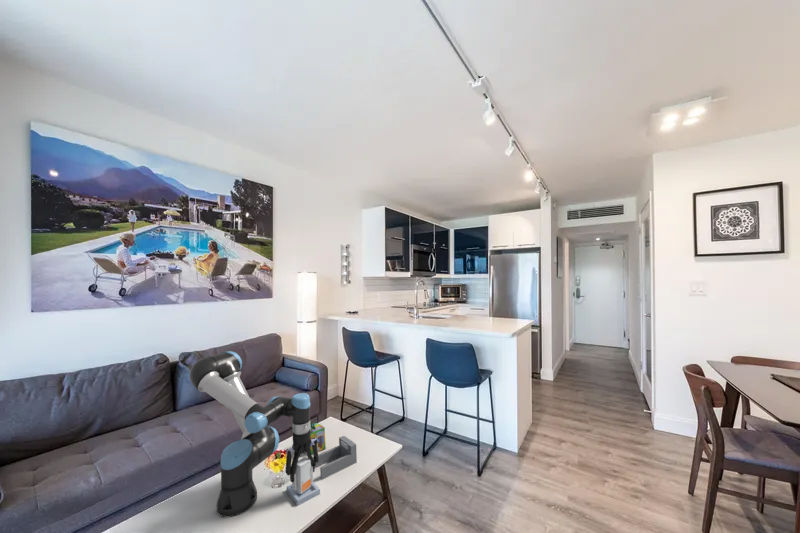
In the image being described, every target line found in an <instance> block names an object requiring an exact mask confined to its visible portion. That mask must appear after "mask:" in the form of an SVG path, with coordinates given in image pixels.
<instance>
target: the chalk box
mask: <svg viewBox="0 0 800 533" xmlns="http://www.w3.org/2000/svg"><path fill="white" fill-rule="evenodd" d="M325 428H326V427H324V426H323V425H321V424H320V423H318V422H316V423H315V422H314V423H313V422H312V421H311V420H310V430H311V440H313V439H314V438H315V439H316V440H317V441H318V442H317V451H318V453H319V452H320V451H323V450H325V449H326V448H327V447H326V430H325ZM309 450H310V453H311V455H312V456H313V449H312V444H311V445H310V447H309Z"/></svg>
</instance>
